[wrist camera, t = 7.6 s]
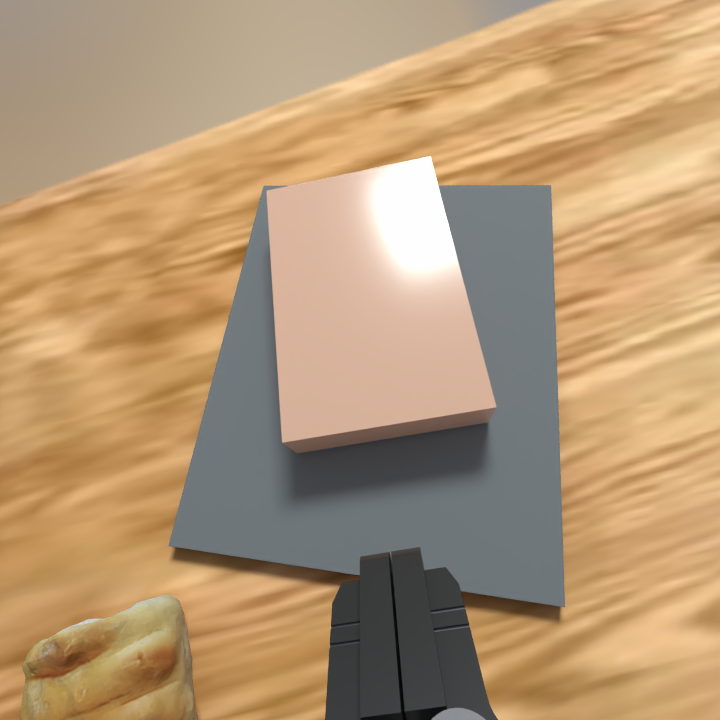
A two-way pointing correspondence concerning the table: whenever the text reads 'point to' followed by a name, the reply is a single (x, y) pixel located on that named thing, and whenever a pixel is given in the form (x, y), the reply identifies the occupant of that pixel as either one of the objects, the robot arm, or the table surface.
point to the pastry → (114, 668)
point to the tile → (371, 311)
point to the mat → (407, 453)
